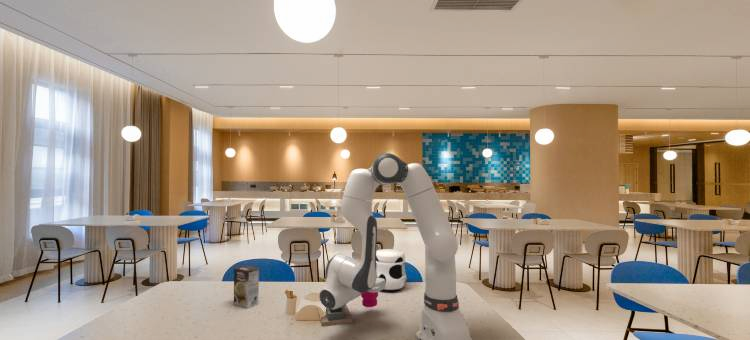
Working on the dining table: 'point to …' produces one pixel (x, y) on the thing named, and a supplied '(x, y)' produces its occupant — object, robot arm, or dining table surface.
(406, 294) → the dining table surface
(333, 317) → the caddy board
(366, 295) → the pepper mill
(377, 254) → the milk container
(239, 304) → the coffee box
